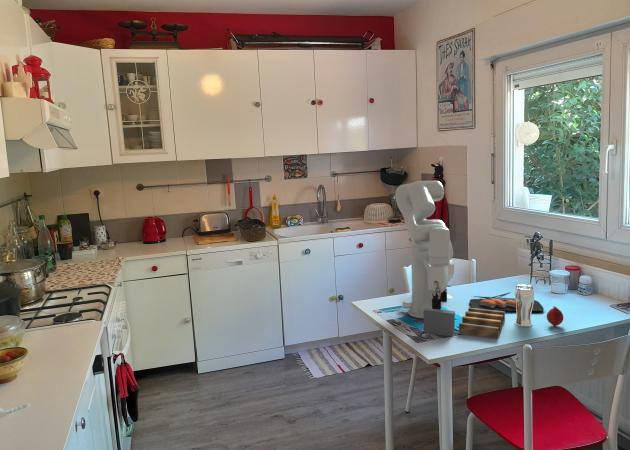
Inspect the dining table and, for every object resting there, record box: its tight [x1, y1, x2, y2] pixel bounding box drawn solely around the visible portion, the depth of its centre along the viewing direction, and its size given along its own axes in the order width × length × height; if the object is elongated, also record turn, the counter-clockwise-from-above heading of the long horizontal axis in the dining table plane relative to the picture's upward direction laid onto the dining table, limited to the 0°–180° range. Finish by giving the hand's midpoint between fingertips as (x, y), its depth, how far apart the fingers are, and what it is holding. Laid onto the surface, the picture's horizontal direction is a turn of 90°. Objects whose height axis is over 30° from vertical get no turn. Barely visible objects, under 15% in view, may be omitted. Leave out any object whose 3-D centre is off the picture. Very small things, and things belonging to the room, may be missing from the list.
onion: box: [546, 305, 564, 327], centre depth 199 cm, size 6×6×8 cm
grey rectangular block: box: [423, 308, 456, 338], centre depth 196 cm, size 11×3×9 cm, turn 63°
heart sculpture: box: [447, 259, 455, 300], centre depth 242 cm, size 16×5×18 cm, turn 13°
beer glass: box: [514, 284, 535, 328], centre depth 201 cm, size 7×7×15 cm
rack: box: [458, 307, 506, 340], centre depth 201 cm, size 14×20×4 cm
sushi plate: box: [469, 291, 545, 312], centre depth 230 cm, size 29×30×4 cm
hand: (439, 305), depth 194 cm, fingers open, 9 cm apart
